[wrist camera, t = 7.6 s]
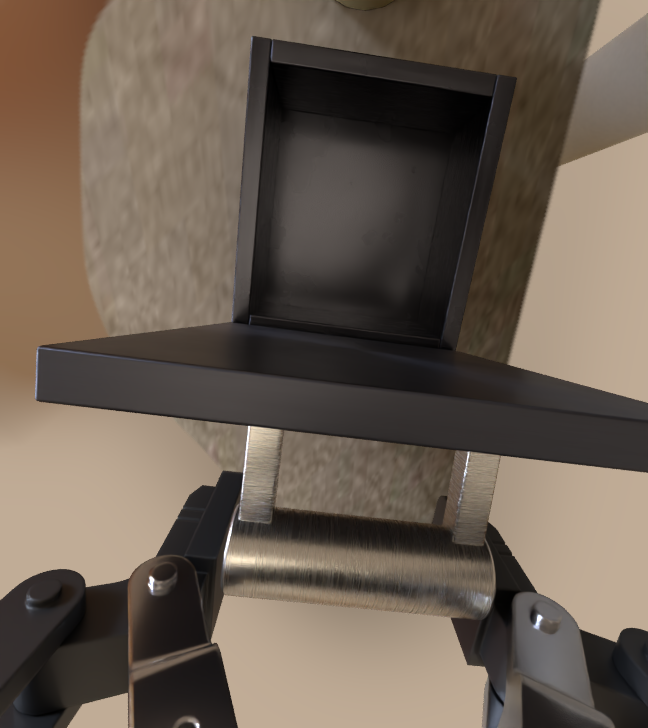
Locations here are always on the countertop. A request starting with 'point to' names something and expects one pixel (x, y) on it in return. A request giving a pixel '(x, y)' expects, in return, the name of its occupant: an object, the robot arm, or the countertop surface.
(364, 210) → the box
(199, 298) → the countertop surface
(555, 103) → the countertop surface
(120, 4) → the countertop surface
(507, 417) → the warmer lid
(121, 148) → the countertop surface
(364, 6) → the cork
